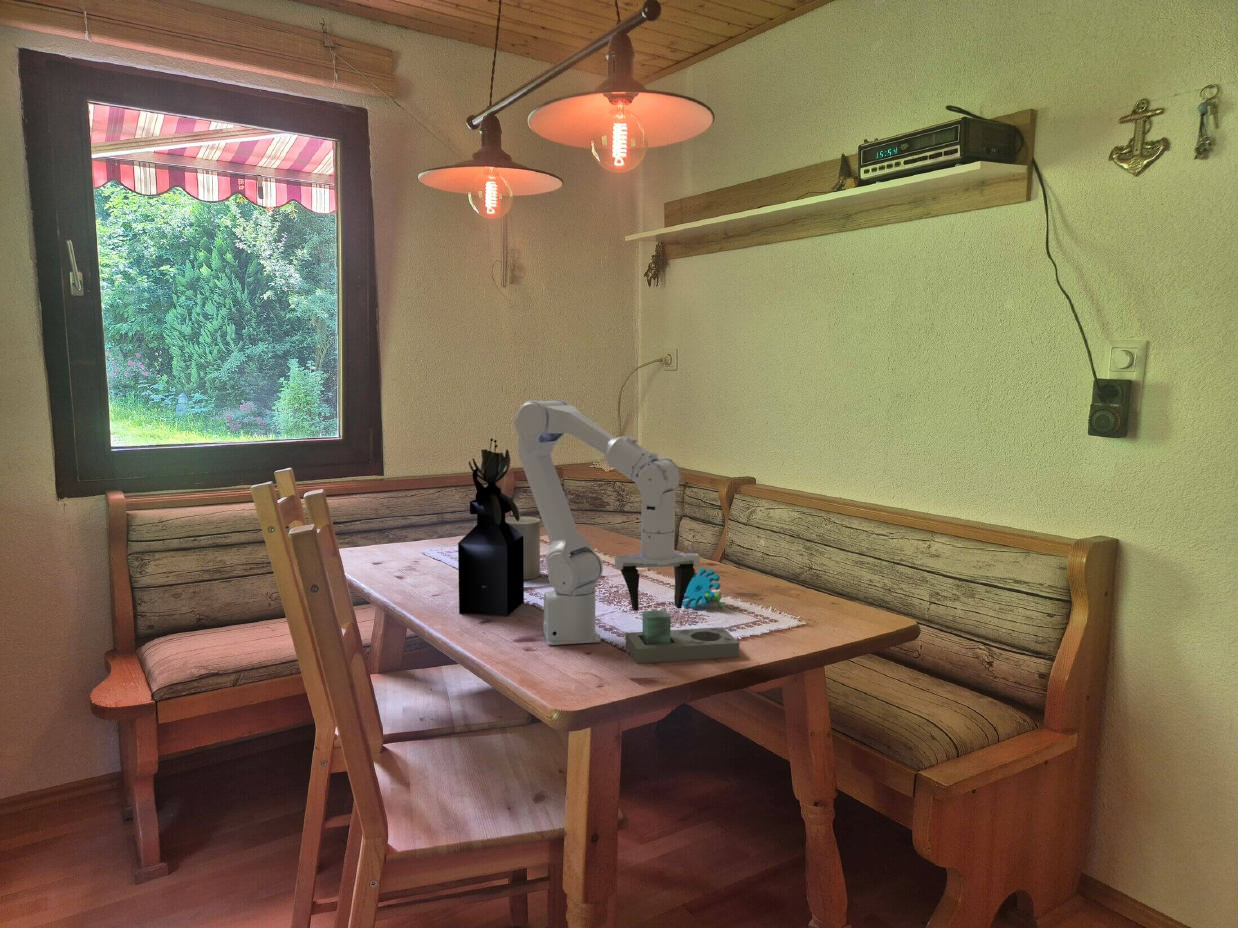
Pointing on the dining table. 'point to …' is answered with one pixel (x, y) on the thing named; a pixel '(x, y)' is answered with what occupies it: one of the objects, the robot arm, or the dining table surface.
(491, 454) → the vase
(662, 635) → the square peg
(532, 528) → the pillar candle
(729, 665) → the dining table surface
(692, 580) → the gear
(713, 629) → the hole plate
